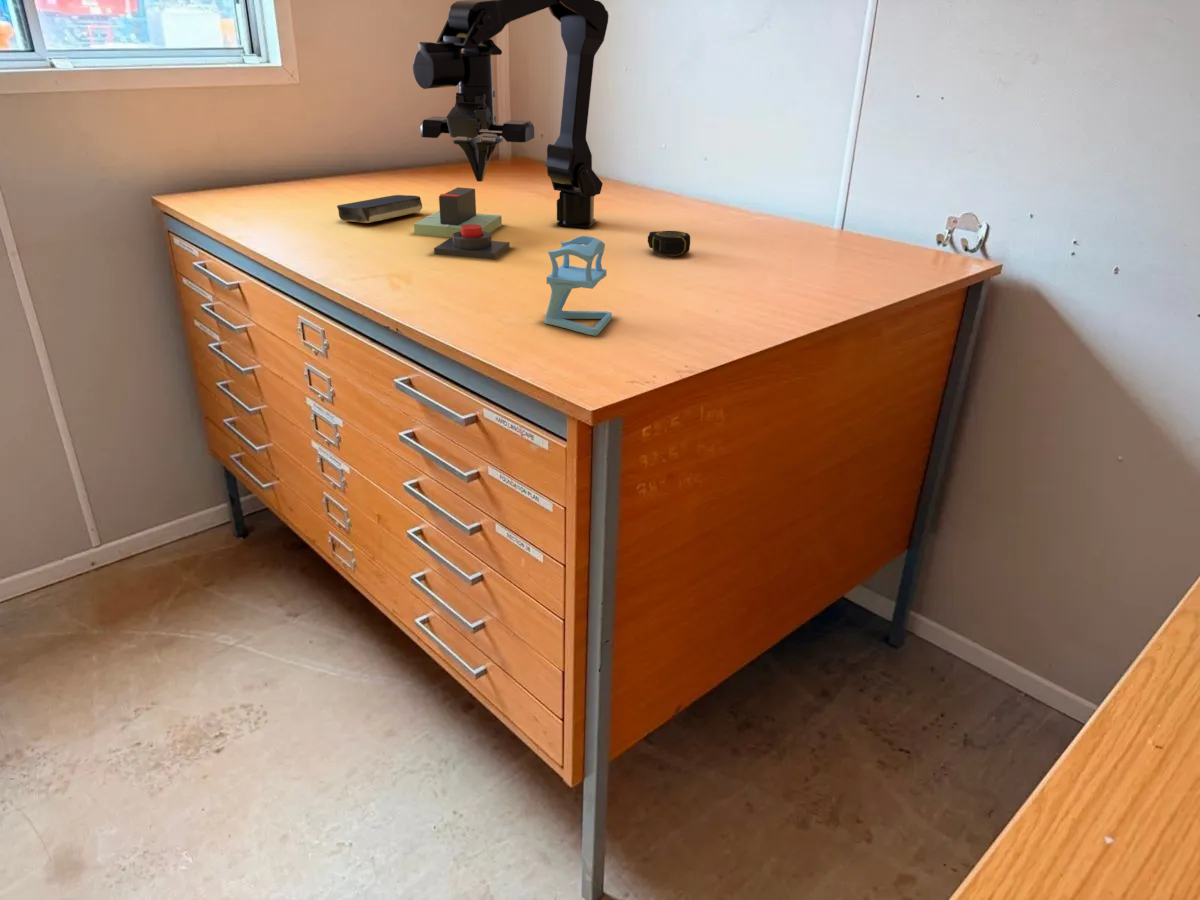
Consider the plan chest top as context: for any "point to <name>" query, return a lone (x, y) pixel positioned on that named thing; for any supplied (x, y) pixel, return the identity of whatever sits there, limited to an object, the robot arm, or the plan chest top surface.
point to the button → (471, 231)
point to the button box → (472, 247)
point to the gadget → (457, 206)
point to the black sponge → (380, 208)
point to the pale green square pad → (435, 228)
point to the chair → (575, 284)
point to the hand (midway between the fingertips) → (480, 181)
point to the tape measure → (669, 242)
